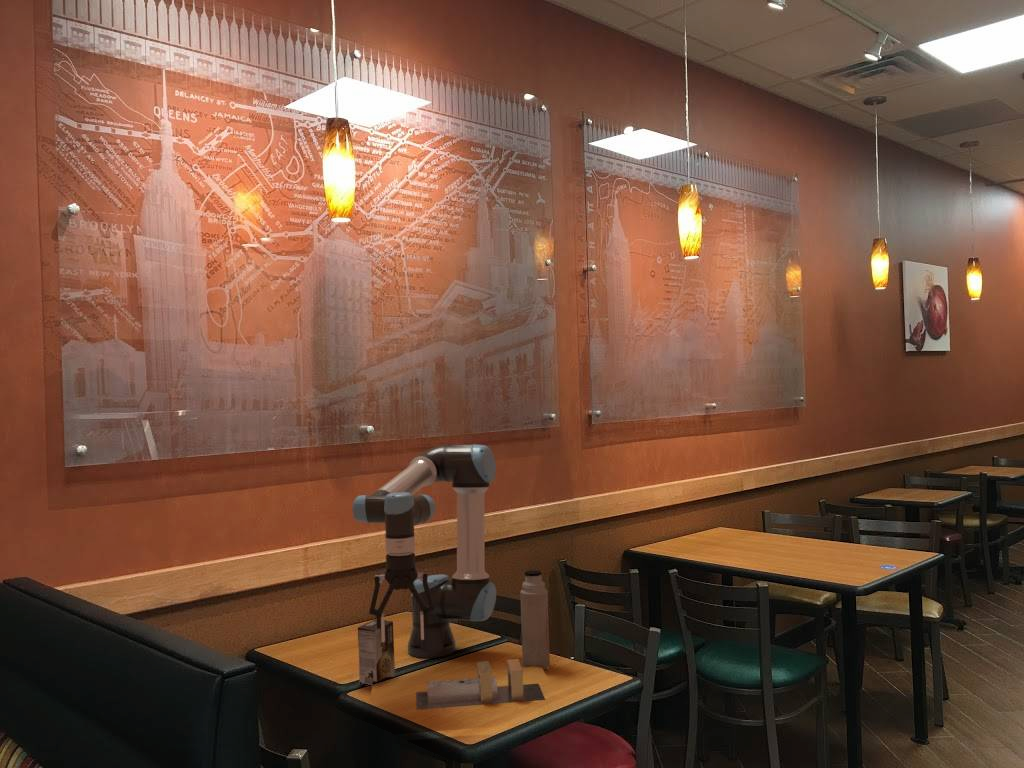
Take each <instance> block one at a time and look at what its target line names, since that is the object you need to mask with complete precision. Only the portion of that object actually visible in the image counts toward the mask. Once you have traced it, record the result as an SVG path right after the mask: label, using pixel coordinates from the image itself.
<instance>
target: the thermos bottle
mask: <svg viewBox="0 0 1024 768" xmlns="http://www.w3.org/2000/svg"><path fill="white" fill-rule="evenodd" d="M524 575H525V576H524V578H525V579H524V580H525V581H523V582H522V586H521V588H522V589H521V590H520V591H519V592H520V595H519V597H520V619H521V620H520V622H521V626H520V627H521V629H520V630H521V654H522V657H521V658H522V659H521V660H522V668H533V667H534V668H535V667H541V668H542V670H543V671H545V670H544V669H547V668H548V667H549V666H551V663H550V662H551V661H550V657H551V656H550V633H549V632H550V630H549V629H550V627H549V602H548V601H549V600H548V599H549V597H548V594H549V593H548V589H546V582H544V580H542V579H543V577H542V571H541V570H538V569H537V570H536V569H534V570H533V569H532V570H531V569H530V570H526V571H524ZM549 668H550V667H549ZM549 668H548V669H549ZM548 669H547V670H548Z"/></svg>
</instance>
